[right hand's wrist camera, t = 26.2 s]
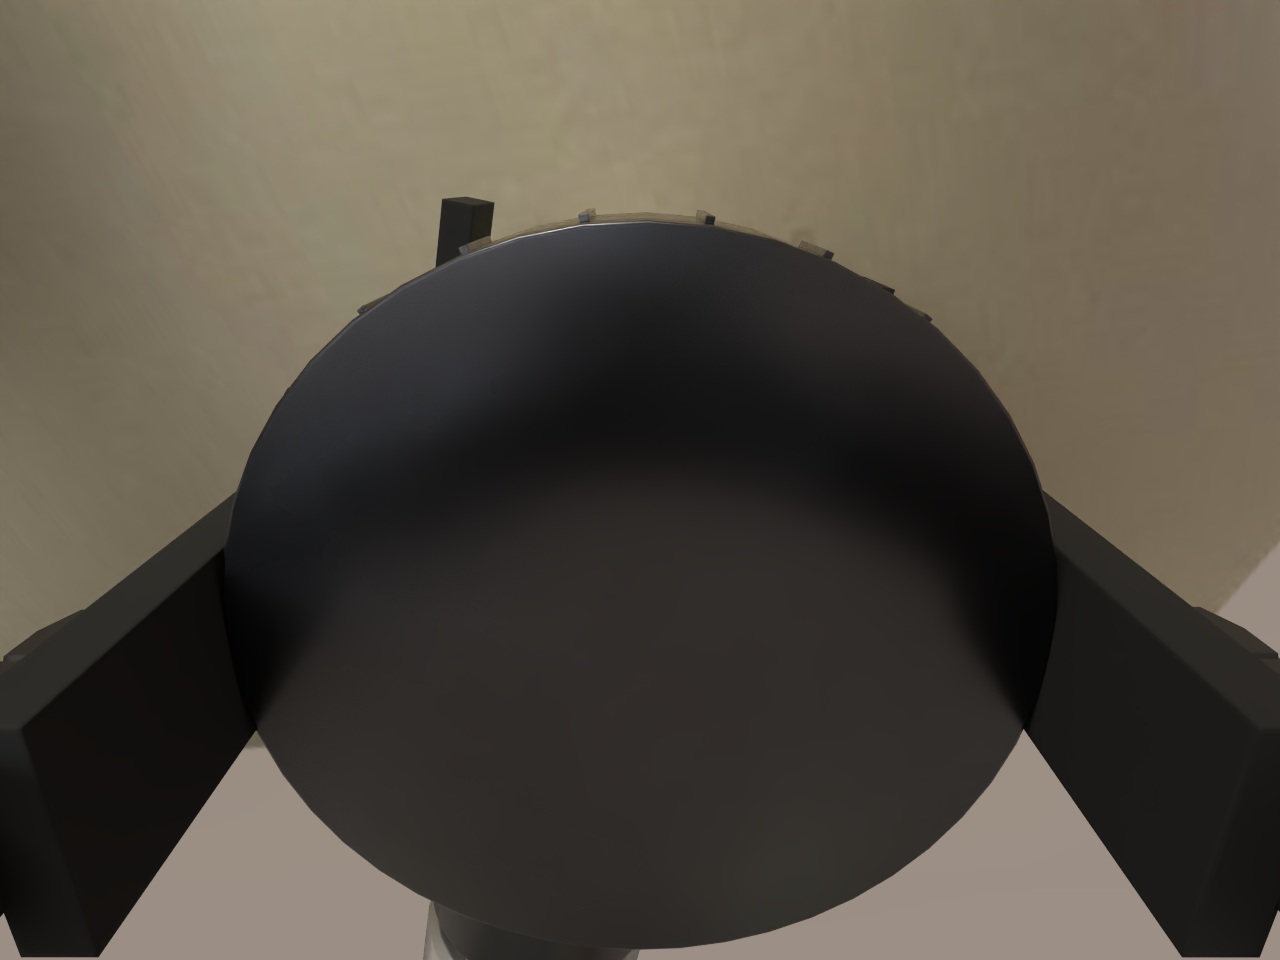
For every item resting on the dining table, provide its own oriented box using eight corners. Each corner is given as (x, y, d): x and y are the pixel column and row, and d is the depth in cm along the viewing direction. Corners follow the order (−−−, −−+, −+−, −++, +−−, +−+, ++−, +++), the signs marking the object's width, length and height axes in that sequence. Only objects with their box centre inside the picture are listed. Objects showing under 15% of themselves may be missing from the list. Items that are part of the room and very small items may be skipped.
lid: (739, 929, 15) (754, 1041, 13) (184, 680, 13) (105, 769, 11) (1147, 464, 11) (1248, 521, 10) (485, 34, 9) (447, -2, 8)
